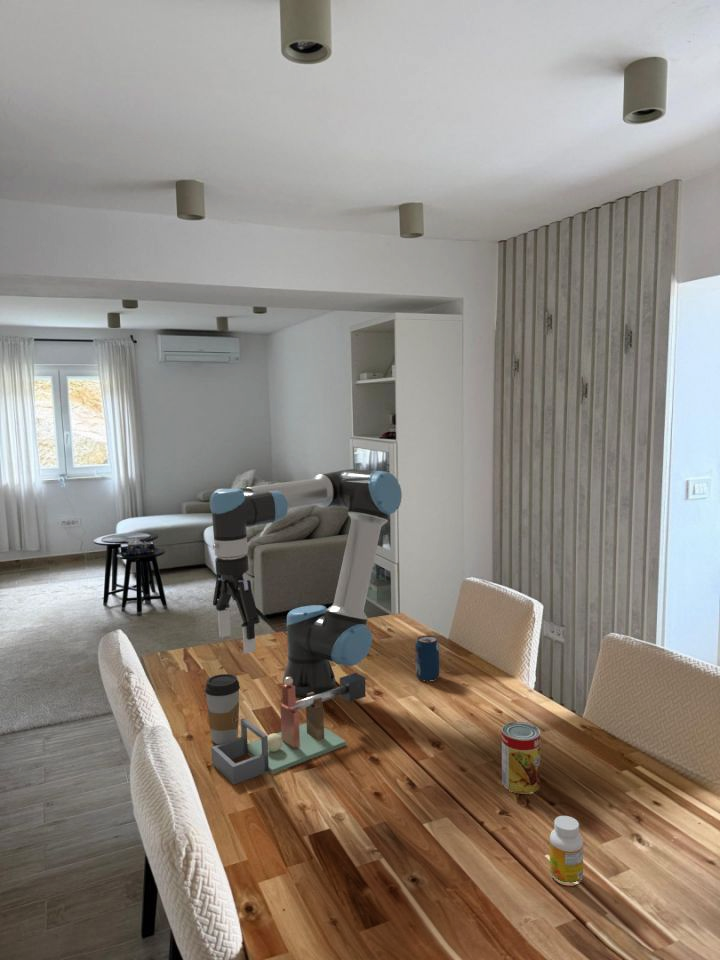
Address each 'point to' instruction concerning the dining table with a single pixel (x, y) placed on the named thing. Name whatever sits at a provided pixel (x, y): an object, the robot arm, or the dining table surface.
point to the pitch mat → (295, 756)
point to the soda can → (427, 658)
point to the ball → (274, 742)
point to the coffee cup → (223, 707)
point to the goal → (238, 748)
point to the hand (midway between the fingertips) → (237, 643)
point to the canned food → (521, 757)
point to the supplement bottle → (566, 850)
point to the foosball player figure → (315, 718)
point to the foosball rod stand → (348, 690)
